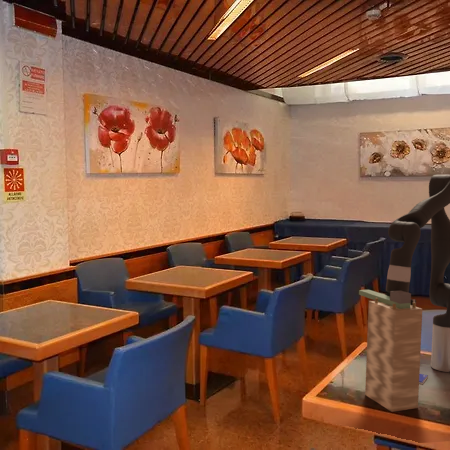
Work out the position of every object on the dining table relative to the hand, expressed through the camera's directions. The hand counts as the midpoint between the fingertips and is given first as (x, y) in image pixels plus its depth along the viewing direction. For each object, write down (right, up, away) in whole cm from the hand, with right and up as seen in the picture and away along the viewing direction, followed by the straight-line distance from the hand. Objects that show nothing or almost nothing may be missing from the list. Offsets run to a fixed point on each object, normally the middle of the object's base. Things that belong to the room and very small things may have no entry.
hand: (392, 326), depth 178 cm
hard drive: (+10, -22, +14) cm, 28 cm away
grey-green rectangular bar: (-5, +9, -5) cm, 12 cm away
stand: (-3, -23, -8) cm, 25 cm away
